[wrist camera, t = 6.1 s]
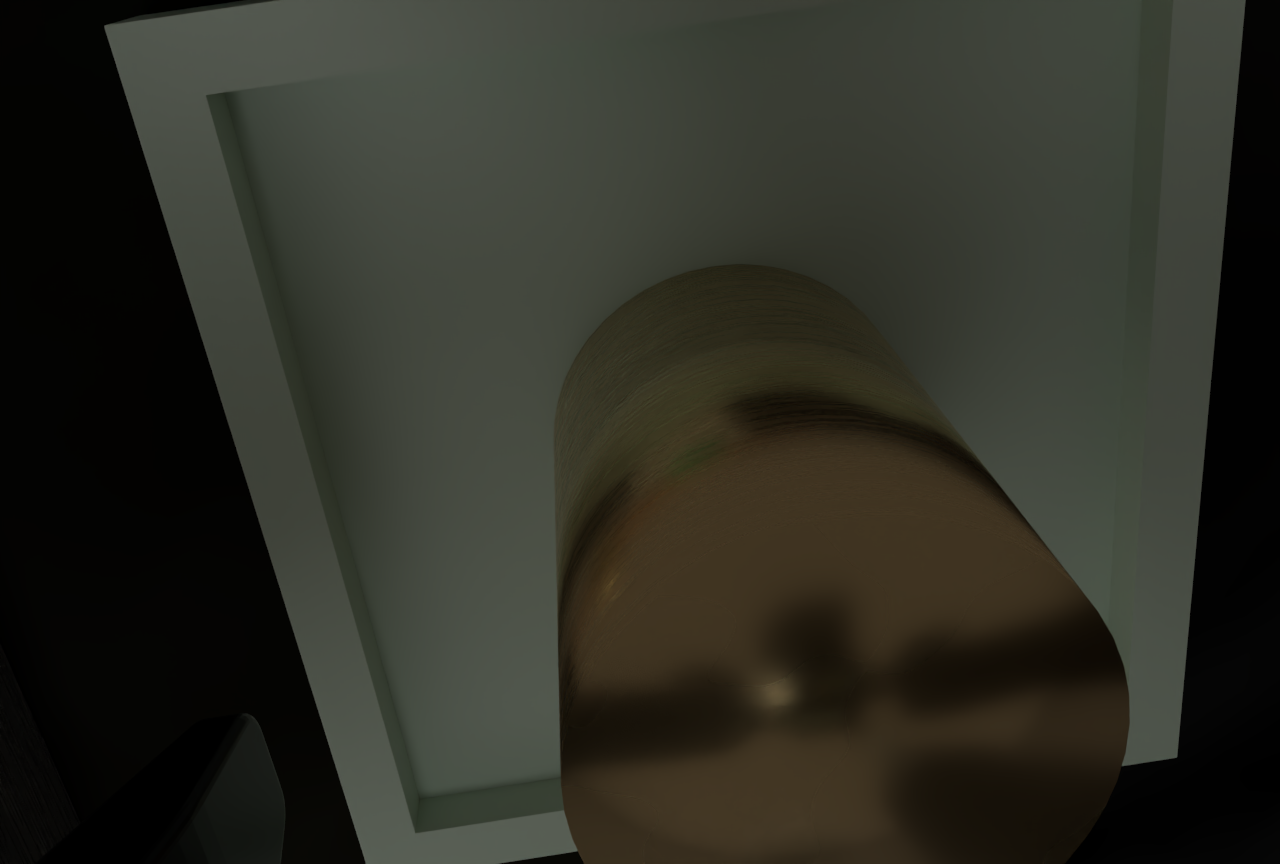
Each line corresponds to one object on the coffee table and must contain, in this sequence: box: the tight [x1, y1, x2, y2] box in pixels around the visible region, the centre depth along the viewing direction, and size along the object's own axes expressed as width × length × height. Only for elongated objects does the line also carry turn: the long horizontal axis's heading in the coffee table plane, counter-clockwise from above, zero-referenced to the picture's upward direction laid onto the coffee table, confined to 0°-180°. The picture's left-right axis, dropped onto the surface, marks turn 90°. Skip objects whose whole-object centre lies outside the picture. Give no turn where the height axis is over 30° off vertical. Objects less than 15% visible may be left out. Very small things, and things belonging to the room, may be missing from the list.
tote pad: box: [104, 0, 1245, 864], centre depth 13 cm, size 10×10×1 cm
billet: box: [554, 264, 1130, 864], centre depth 11 cm, size 4×4×6 cm
